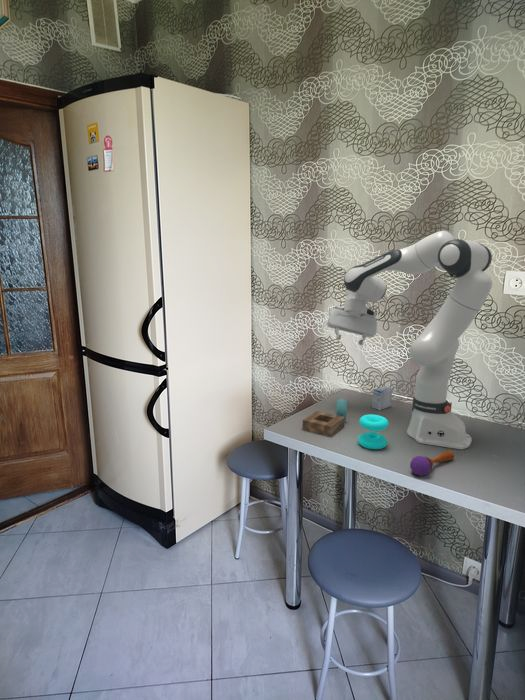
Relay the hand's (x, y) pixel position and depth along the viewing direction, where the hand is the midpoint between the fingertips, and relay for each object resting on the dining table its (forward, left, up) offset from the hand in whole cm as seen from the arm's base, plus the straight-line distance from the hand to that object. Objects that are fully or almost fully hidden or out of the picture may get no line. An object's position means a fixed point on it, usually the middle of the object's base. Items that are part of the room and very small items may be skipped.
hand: (349, 341), depth 186 cm
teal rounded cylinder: (-2, +9, -31) cm, 32 cm away
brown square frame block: (+1, +19, -31) cm, 36 cm away
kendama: (-42, +29, -31) cm, 60 cm away
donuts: (-20, +23, -31) cm, 44 cm away
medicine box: (-10, -17, -31) cm, 37 cm away
